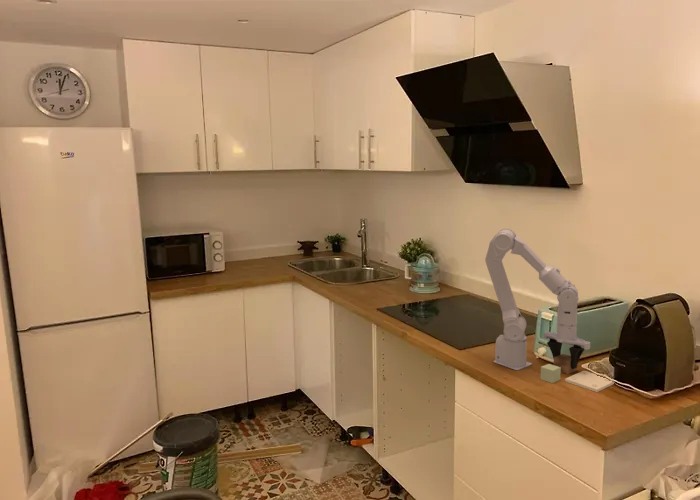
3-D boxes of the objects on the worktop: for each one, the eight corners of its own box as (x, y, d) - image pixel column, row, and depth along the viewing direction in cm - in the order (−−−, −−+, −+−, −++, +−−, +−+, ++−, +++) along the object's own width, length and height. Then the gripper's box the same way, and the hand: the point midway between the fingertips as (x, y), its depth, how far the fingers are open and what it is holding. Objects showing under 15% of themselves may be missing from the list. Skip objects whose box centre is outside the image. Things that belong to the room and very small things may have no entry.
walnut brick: (553, 369, 166) (553, 357, 165) (562, 365, 169) (562, 353, 168) (568, 374, 162) (568, 361, 161) (577, 370, 165) (577, 357, 164)
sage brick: (540, 379, 159) (540, 366, 159) (548, 376, 161) (548, 363, 161) (552, 383, 156) (552, 370, 155) (560, 380, 158) (560, 367, 158)
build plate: (564, 381, 157) (564, 378, 157) (583, 372, 163) (583, 369, 163) (597, 392, 149) (597, 388, 149) (615, 383, 155) (615, 379, 154)
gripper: (538, 321, 167) (537, 362, 169) (582, 331, 155) (580, 375, 157) (551, 316, 171) (550, 356, 173) (594, 326, 159) (592, 369, 161)
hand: (565, 365), depth 165 cm, fingers closed on walnut brick, 5 cm apart
